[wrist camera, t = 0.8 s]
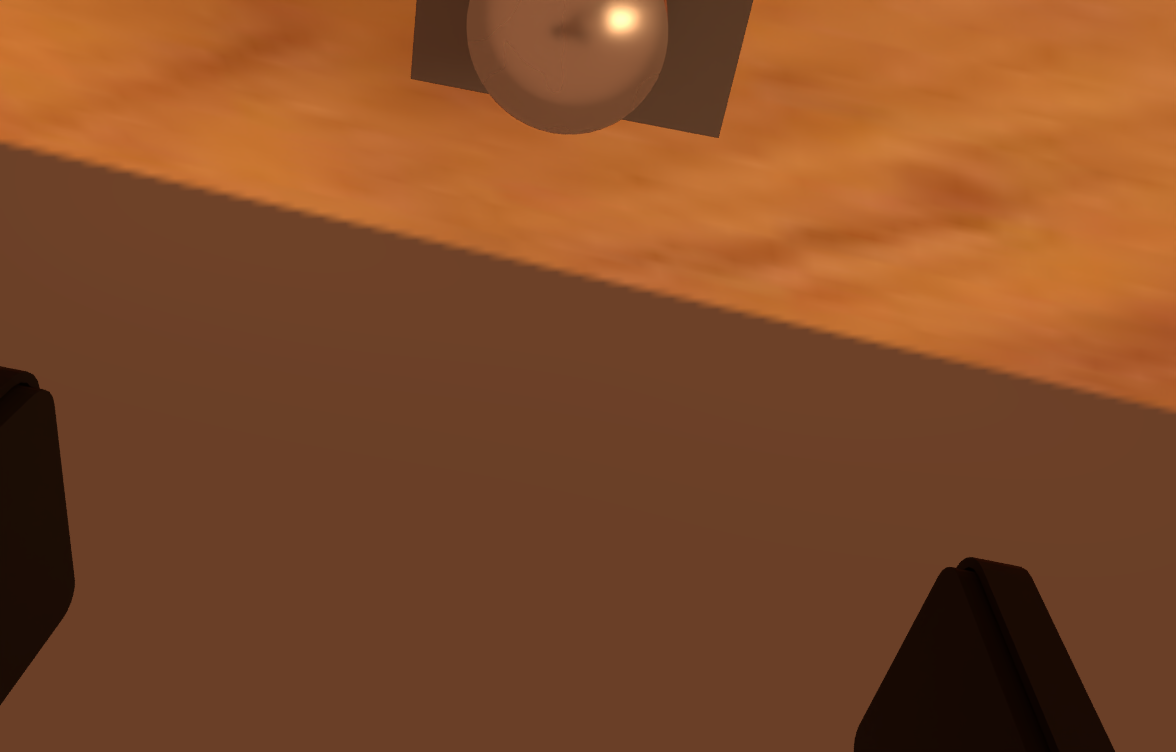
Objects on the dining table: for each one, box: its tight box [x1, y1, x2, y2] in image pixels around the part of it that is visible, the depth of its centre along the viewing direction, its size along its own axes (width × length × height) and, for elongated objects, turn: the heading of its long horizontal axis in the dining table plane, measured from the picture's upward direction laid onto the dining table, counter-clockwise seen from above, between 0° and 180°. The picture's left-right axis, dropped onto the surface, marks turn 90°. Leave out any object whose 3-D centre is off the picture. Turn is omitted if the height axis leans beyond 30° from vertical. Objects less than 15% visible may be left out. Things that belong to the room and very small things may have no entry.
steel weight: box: [466, 0, 668, 134], centre depth 22 cm, size 4×4×6 cm
